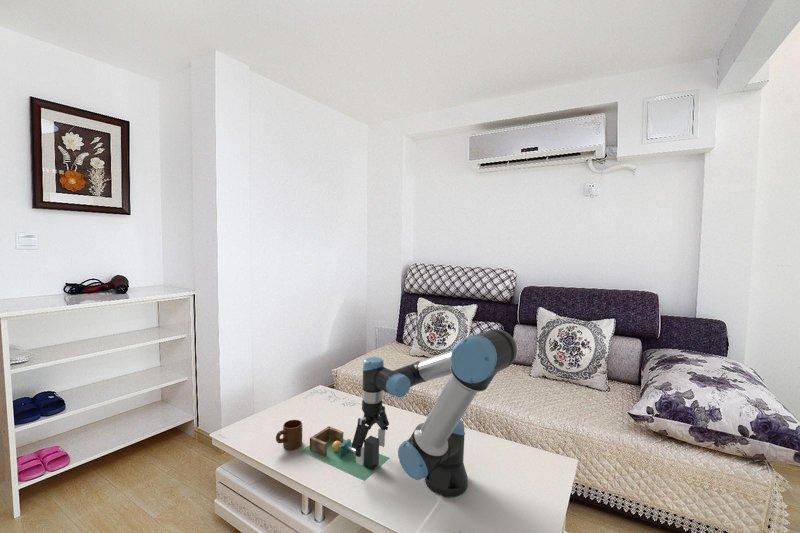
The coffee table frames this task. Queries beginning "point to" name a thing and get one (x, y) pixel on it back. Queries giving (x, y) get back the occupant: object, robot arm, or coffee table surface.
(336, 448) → the ball
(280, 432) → the mug
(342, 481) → the coffee table surface
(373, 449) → the rod
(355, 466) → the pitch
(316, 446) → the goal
